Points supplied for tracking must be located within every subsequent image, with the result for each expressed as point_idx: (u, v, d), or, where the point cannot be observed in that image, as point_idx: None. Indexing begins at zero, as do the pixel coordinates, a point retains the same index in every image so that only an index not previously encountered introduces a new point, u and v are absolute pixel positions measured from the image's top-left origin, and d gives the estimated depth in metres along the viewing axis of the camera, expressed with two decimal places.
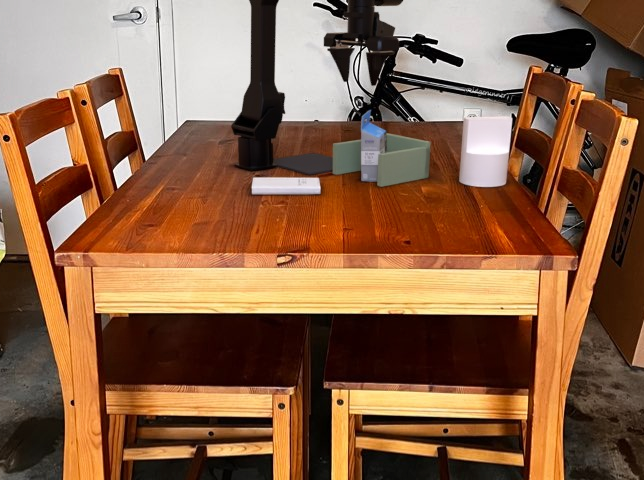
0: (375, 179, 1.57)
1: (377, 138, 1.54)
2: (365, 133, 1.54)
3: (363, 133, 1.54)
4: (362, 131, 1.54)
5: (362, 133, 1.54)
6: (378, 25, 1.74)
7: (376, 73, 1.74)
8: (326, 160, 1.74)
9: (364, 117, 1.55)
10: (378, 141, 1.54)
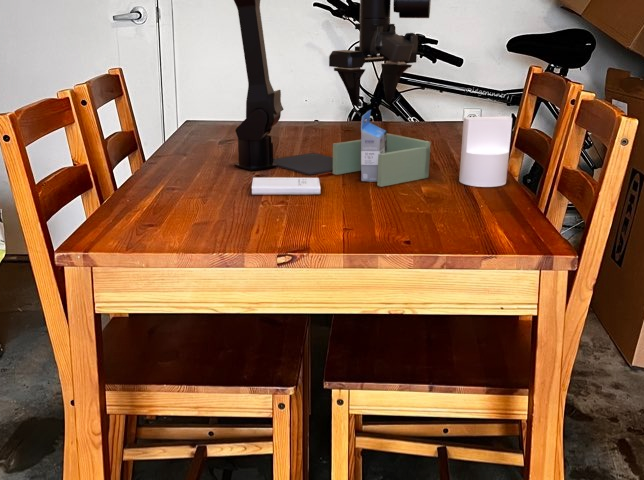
0: (375, 179, 1.57)
1: (377, 138, 1.54)
2: (365, 133, 1.54)
3: (363, 133, 1.54)
4: (362, 131, 1.54)
5: (362, 133, 1.54)
6: (372, 39, 1.52)
7: (351, 91, 1.56)
8: (326, 160, 1.74)
9: (364, 117, 1.55)
10: (378, 141, 1.54)
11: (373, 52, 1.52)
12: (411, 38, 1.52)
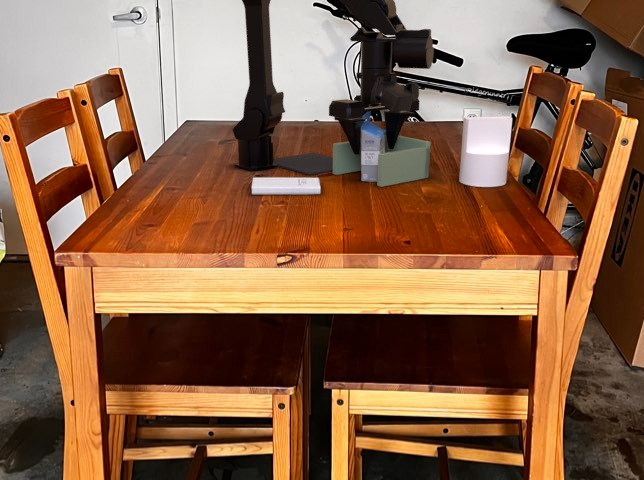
0: (375, 180, 1.57)
1: (377, 138, 1.54)
2: (365, 133, 1.54)
3: (363, 133, 1.54)
4: (362, 131, 1.54)
5: (362, 133, 1.54)
6: (373, 89, 1.51)
7: (352, 140, 1.55)
8: (326, 160, 1.74)
9: (364, 117, 1.55)
10: (378, 141, 1.54)
11: (373, 102, 1.51)
12: (412, 88, 1.50)
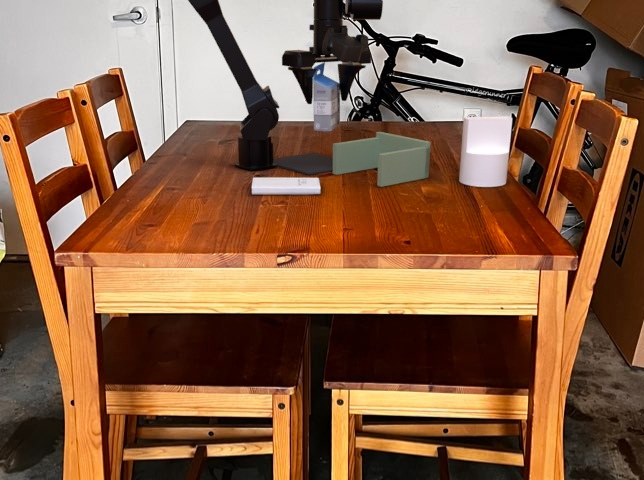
0: (327, 129, 1.63)
1: (328, 88, 1.60)
2: (317, 83, 1.60)
3: (315, 83, 1.60)
4: (314, 81, 1.60)
5: (314, 83, 1.60)
6: (324, 40, 1.57)
7: (304, 90, 1.61)
8: (326, 160, 1.74)
9: (317, 68, 1.62)
10: (329, 91, 1.60)
11: (324, 52, 1.58)
12: (361, 39, 1.57)
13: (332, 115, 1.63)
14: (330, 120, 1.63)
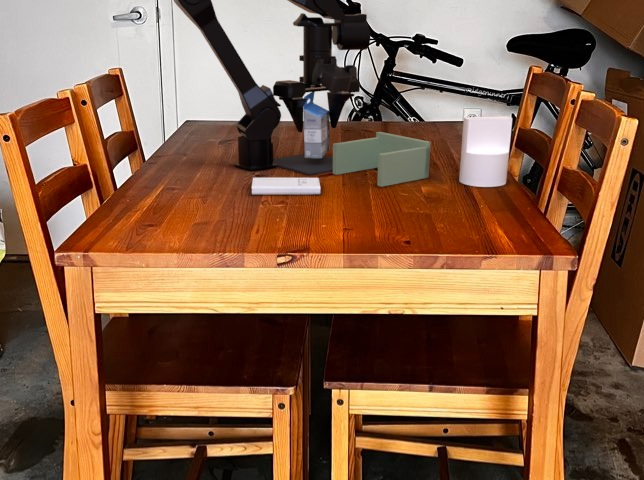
0: (317, 156, 1.68)
1: (318, 117, 1.65)
2: (307, 112, 1.65)
3: (305, 112, 1.65)
4: (304, 111, 1.65)
5: (304, 112, 1.65)
6: (314, 71, 1.62)
7: (295, 119, 1.66)
8: (326, 160, 1.74)
9: (307, 98, 1.66)
10: (319, 120, 1.65)
11: (314, 83, 1.62)
12: (350, 70, 1.61)
13: (322, 143, 1.68)
14: (320, 148, 1.67)
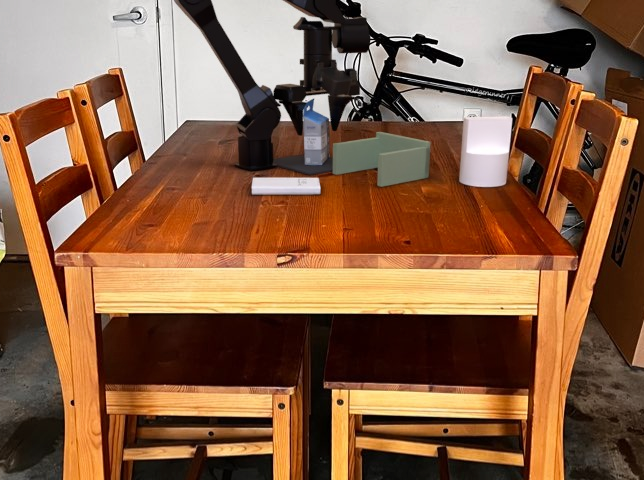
0: (317, 163, 1.69)
1: (318, 124, 1.65)
2: (307, 120, 1.65)
3: (305, 120, 1.65)
4: (304, 118, 1.65)
5: (304, 120, 1.65)
6: (314, 75, 1.62)
7: (295, 122, 1.66)
8: (326, 160, 1.74)
9: (306, 105, 1.67)
10: (319, 127, 1.66)
11: (314, 86, 1.63)
12: (350, 73, 1.62)
13: (322, 150, 1.68)
14: (320, 154, 1.68)
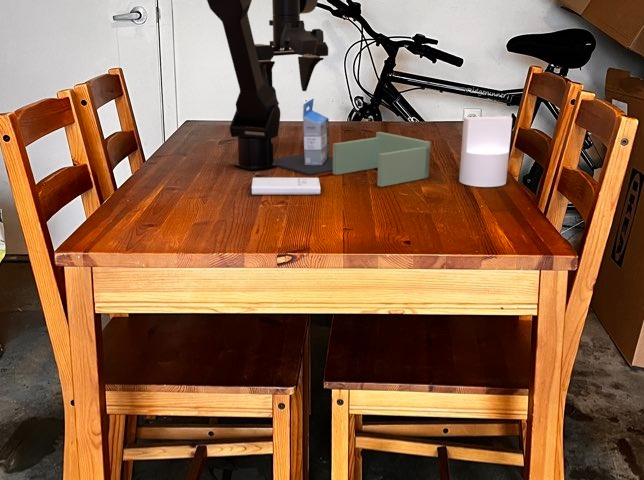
0: (317, 163, 1.69)
1: (318, 124, 1.65)
2: (307, 120, 1.65)
3: (305, 120, 1.65)
4: (304, 118, 1.65)
5: (304, 120, 1.65)
6: (282, 35, 1.69)
7: (265, 81, 1.73)
8: (326, 160, 1.74)
9: (306, 105, 1.67)
10: (319, 127, 1.66)
11: (283, 46, 1.70)
12: (316, 33, 1.68)
13: (322, 150, 1.68)
14: (320, 154, 1.68)
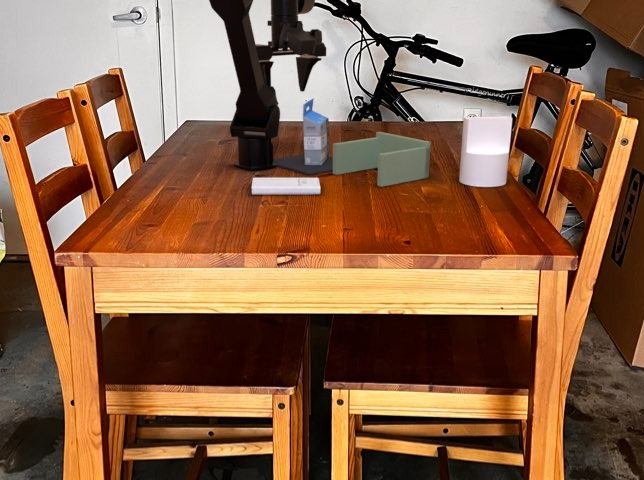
0: (317, 163, 1.69)
1: (318, 124, 1.65)
2: (307, 120, 1.65)
3: (305, 120, 1.65)
4: (304, 118, 1.65)
5: (304, 120, 1.65)
6: (280, 35, 1.69)
7: (263, 82, 1.73)
8: (326, 160, 1.74)
9: (306, 105, 1.67)
10: (319, 127, 1.66)
11: (281, 46, 1.70)
12: (315, 34, 1.69)
13: (322, 150, 1.68)
14: (320, 154, 1.68)
